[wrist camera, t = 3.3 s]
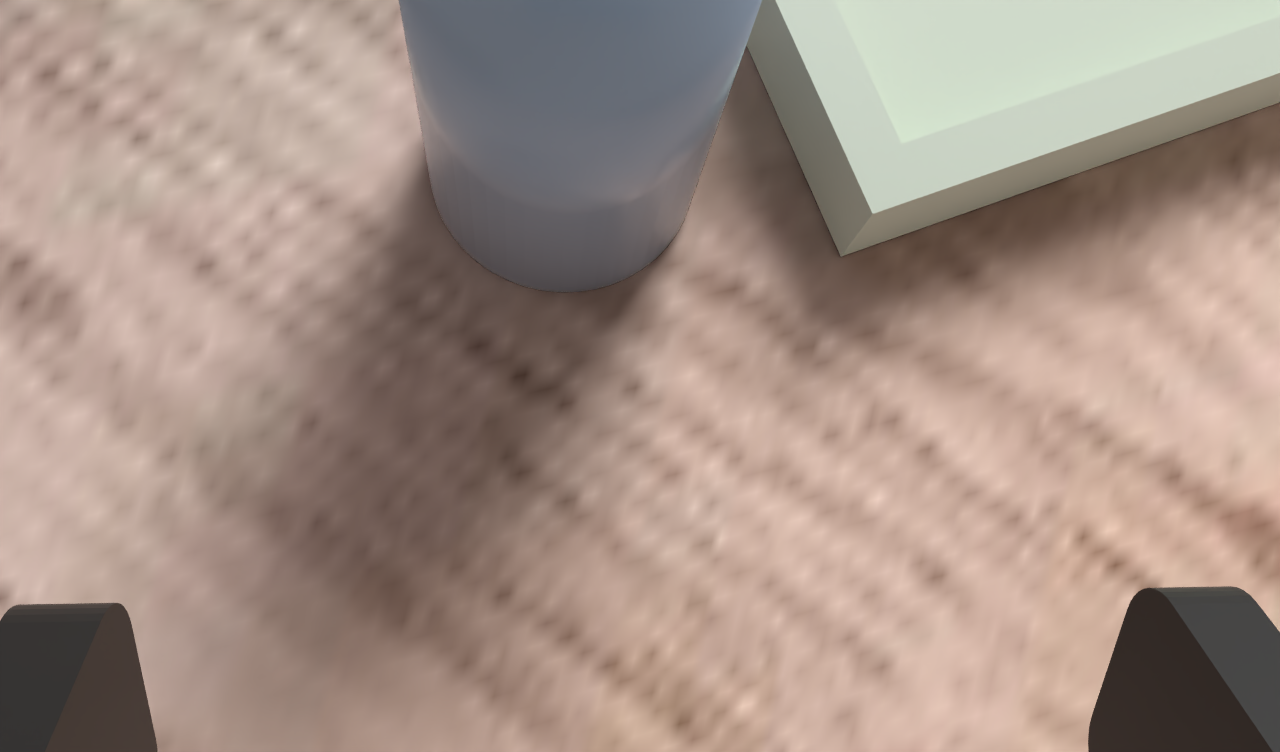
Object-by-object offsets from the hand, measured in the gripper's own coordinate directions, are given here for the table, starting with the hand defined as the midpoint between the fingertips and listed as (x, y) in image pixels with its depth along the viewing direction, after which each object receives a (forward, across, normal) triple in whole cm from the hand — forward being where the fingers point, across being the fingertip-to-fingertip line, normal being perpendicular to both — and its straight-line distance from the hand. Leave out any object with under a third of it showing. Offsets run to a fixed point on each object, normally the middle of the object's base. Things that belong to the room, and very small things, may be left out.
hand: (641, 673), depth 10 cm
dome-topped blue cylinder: (+18, 0, +3) cm, 18 cm away
